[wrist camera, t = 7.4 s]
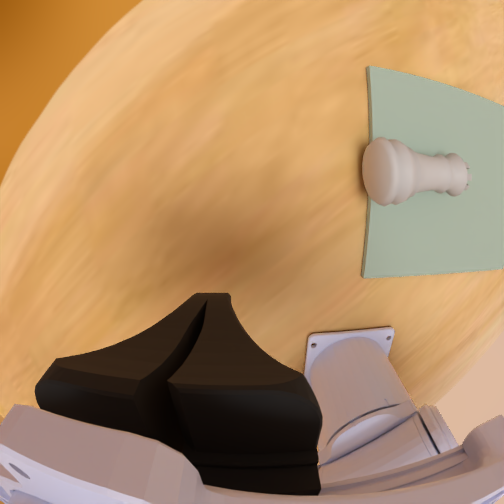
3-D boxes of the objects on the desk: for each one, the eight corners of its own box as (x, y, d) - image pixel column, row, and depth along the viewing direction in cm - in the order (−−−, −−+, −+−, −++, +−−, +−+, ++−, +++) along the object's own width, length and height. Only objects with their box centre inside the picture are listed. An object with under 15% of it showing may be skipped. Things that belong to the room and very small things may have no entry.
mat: (499, 267, 22) (503, 269, 21) (361, 275, 22) (363, 278, 21) (511, 111, 17) (515, 111, 16) (366, 67, 17) (369, 65, 16)
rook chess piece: (356, 144, 19) (440, 150, 19) (363, 207, 19) (445, 204, 20) (387, 128, 14) (476, 141, 15) (396, 206, 15) (482, 205, 15)
